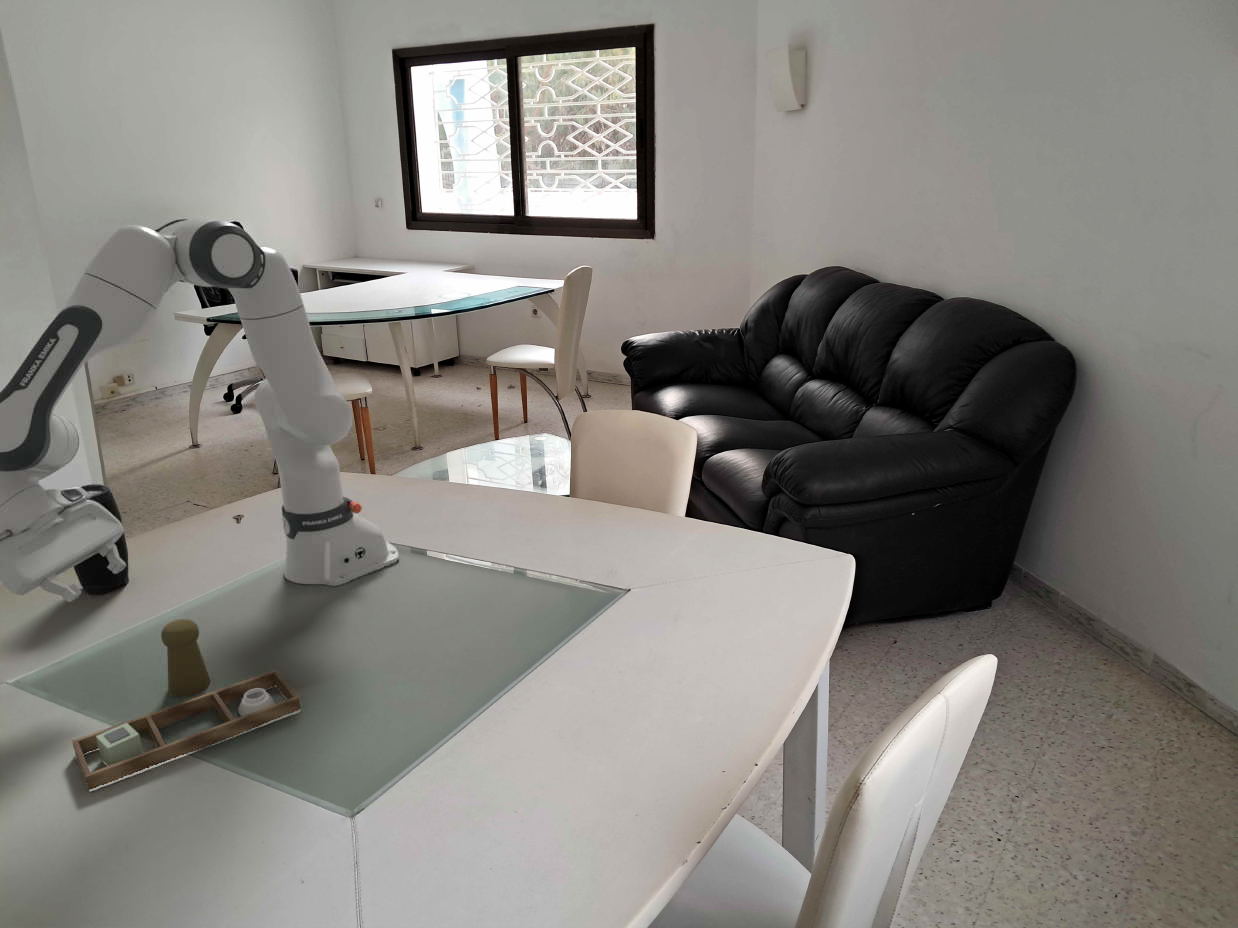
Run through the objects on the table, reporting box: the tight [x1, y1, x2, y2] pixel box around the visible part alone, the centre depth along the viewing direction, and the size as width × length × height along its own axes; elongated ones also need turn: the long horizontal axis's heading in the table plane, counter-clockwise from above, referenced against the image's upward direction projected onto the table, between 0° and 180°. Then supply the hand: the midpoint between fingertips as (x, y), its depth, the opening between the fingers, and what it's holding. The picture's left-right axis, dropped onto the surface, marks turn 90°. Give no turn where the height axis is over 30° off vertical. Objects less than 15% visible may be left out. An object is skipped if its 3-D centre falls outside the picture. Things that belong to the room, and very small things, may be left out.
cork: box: [160, 618, 212, 698], centre depth 135 cm, size 6×6×11 cm
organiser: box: [72, 669, 302, 791], centre depth 125 cm, size 28×10×2 cm, turn 130°
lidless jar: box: [237, 688, 276, 717], centre depth 131 cm, size 5×3×5 cm
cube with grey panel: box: [96, 723, 144, 766], centre depth 120 cm, size 4×4×4 cm
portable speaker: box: [72, 483, 130, 596], centre depth 165 cm, size 9×9×20 cm
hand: (99, 583), depth 134 cm, fingers open, 8 cm apart
